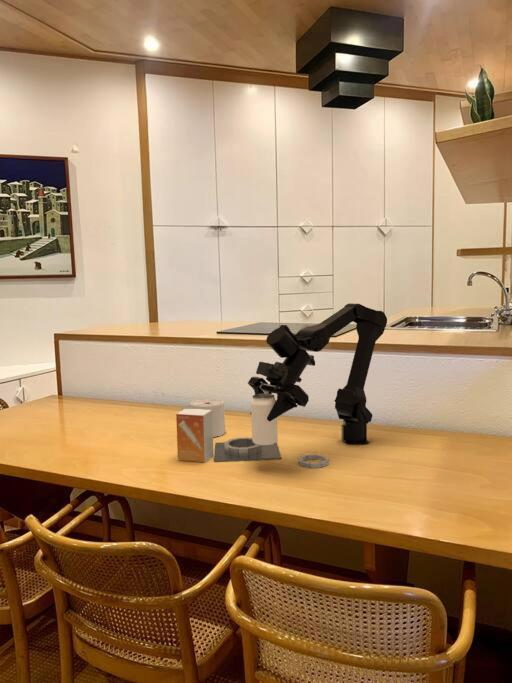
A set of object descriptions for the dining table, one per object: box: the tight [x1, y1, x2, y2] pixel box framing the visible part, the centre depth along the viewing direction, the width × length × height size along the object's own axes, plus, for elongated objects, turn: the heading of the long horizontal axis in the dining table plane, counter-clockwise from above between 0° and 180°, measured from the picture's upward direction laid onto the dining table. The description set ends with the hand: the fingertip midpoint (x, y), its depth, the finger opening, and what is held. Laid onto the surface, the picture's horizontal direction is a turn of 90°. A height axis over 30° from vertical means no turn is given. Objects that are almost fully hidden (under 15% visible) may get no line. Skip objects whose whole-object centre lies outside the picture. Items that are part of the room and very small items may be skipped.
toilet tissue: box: [180, 398, 226, 438], centre depth 166 cm, size 11×12×10 cm
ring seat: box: [213, 436, 282, 463], centre depth 148 cm, size 18×16×2 cm
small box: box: [175, 409, 214, 463], centre depth 143 cm, size 8×6×13 cm
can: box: [250, 393, 279, 446], centre depth 134 cm, size 6×6×12 cm
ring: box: [297, 453, 330, 469], centre depth 137 cm, size 8×8×1 cm
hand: (259, 417), depth 133 cm, fingers closed on can, 6 cm apart
